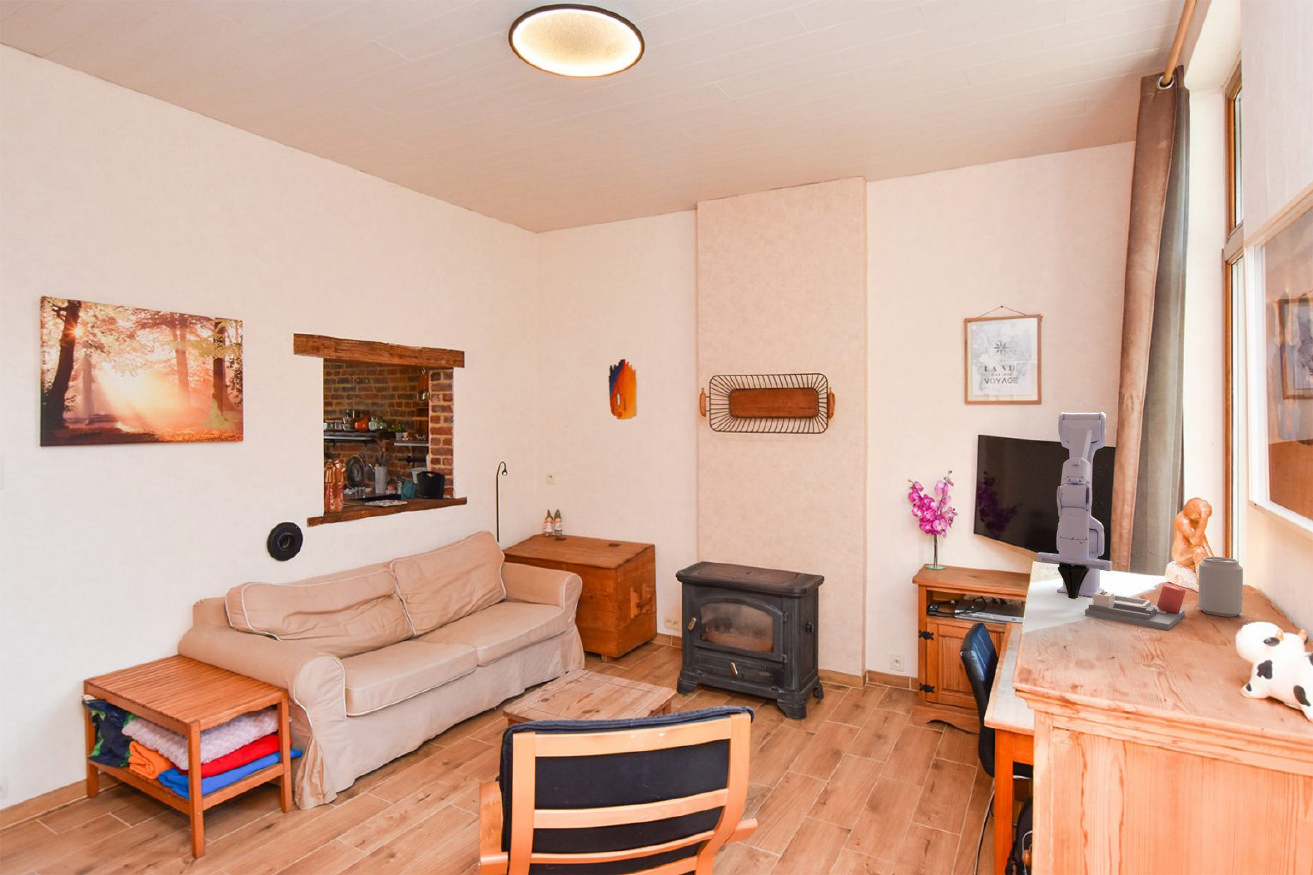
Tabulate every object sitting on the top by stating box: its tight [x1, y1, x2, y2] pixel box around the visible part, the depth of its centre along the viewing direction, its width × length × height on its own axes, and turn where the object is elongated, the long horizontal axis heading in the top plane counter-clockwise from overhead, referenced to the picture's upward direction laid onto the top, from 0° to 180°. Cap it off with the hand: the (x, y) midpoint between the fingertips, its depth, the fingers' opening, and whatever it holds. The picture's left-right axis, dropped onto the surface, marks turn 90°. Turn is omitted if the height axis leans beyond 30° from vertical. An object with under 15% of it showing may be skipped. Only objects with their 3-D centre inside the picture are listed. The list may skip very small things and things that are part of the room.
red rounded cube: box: [1156, 583, 1187, 614], centre depth 150 cm, size 4×4×5 cm
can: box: [1197, 556, 1244, 618], centre depth 154 cm, size 8×8×12 cm
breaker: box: [1092, 590, 1115, 608], centre depth 153 cm, size 4×3×3 cm
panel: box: [1084, 594, 1185, 631], centre depth 152 cm, size 15×15×3 cm
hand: (1073, 598), depth 158 cm, fingers closed
